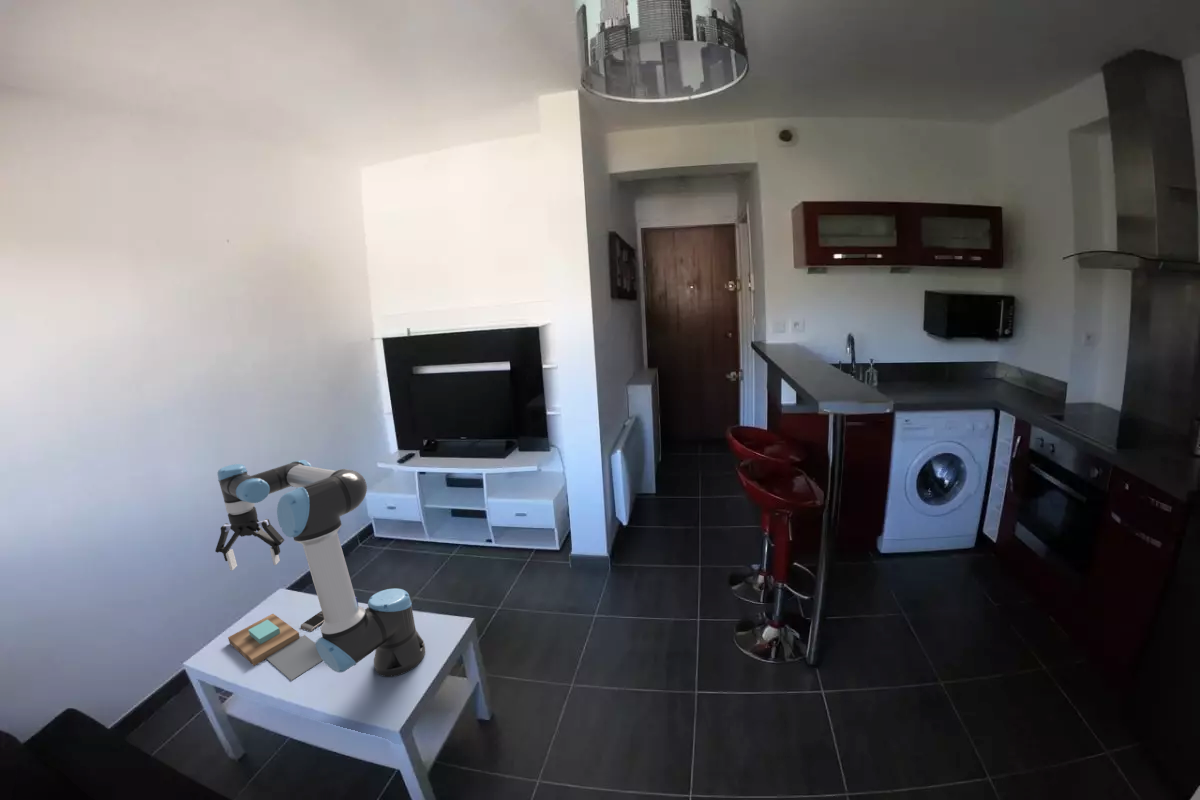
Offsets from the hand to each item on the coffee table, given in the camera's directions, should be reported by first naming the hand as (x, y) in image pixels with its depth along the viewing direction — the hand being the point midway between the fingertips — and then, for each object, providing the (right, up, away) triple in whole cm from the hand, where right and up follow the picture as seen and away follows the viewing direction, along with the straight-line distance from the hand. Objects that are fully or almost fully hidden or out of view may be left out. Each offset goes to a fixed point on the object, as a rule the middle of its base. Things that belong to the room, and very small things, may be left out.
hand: (255, 565), depth 161 cm
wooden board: (+3, -26, 0) cm, 27 cm away
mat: (+20, -27, -8) cm, 35 cm away
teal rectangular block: (+3, -24, 0) cm, 24 cm away
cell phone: (+17, -24, +10) cm, 31 cm away
